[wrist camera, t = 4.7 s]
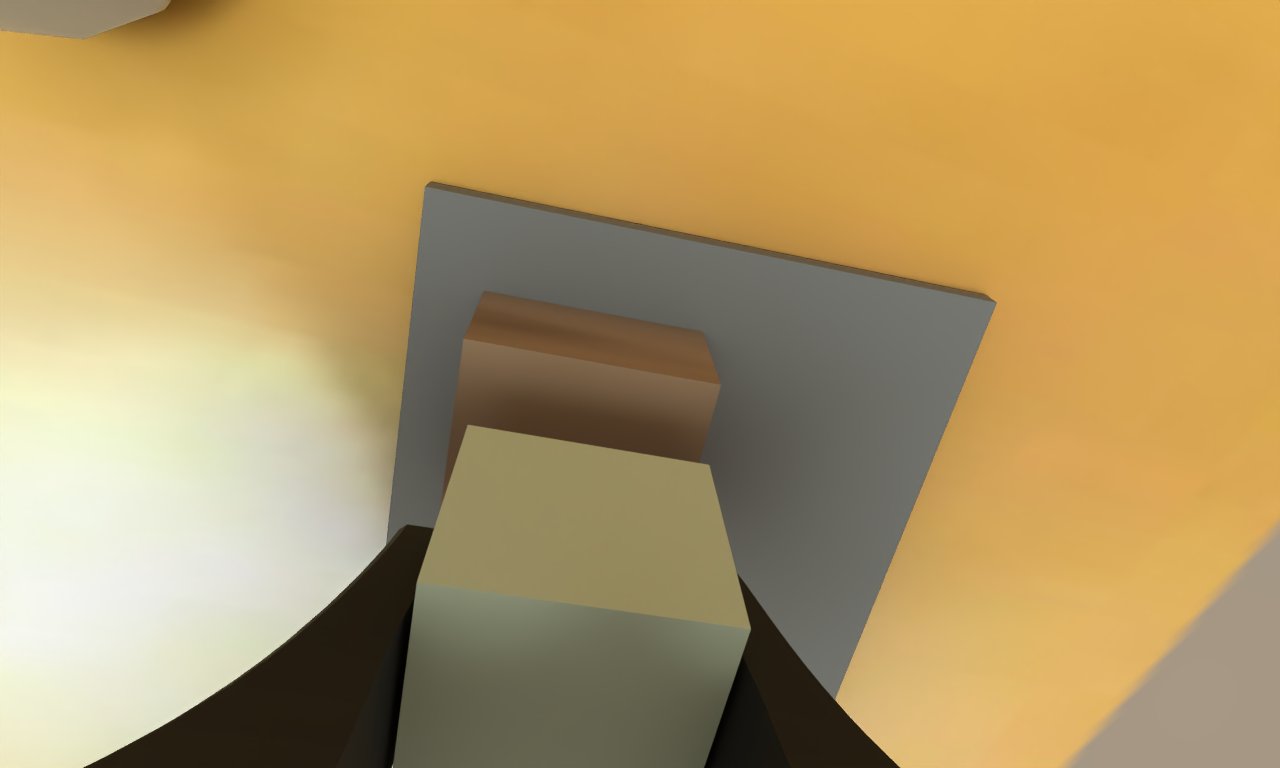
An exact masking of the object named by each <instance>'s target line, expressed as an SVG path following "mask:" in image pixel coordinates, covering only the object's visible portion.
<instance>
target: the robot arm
mask: <svg viewBox="0 0 1280 768" xmlns="http://www.w3.org/2000/svg"><path fill="white" fill-rule="evenodd" d="M433 531H434V528H429V527H422V526H416V525H409V524H407V525H405V526H404V527H402V528H400V529H399V530H398V531H397V533H396V534H395V535H394V537H393V538H392V539H391V540H390V541H389V543H388V544H387V545H386V546H385V547H384V549H383V550H382V551H381V552H380V553H379V554H378V555H377V556H376V558H375V559H374V560H373V561H372V562H371V563H370V564H369V565H368V566H367V567H366V568H365V569H364V570H363V572H362V573H361V574H360V575H359V576H358V577H357V578H356V579H355V580H354V581H353V582H352V583H351V584H349V585H348V586H347V587H346V588H345V589H344V590H343V591H342V592H341V593H340V594H339V595H338V596H337V597H336V598H335V599H334V600H333V601H332V602H331V603H330V604H329V605H328V606H327V607H326V608H325V609H323V610H322V611H321V612H320V613H319V614H318V615H317V616H315V617H314V618H313V619H312V620H311V621H310V622H308V623H307V624H306V625H305V626H304V627H303V628H301V629H300V630H299V631H298V632H297V633H296V634H295V635H293V636H292V637H291V638H290V639H289V640H287V641H286V642H285V643H284V644H282V645H281V646H280V647H279V648H277V649H276V650H275V651H274V652H272V653H271V654H270V655H268V656H267V657H266V658H264V659H263V660H262V661H261V662H259V663H258V664H256V665H255V666H254V667H252V668H251V669H250V670H248V671H247V672H245V673H244V674H243V675H241V676H240V677H238V678H237V679H236V680H234V681H233V682H231V683H230V684H228V685H227V686H225V687H224V688H222V689H221V690H219V691H218V692H216V693H215V694H213V695H211V696H210V697H208V698H207V699H205V700H204V701H202V702H201V703H199V704H198V705H196V706H195V707H193V708H192V709H190V710H188V711H187V712H185V713H183V714H182V715H180V716H178V717H177V718H175V719H174V720H172V721H170V722H168V723H167V724H165V725H163V726H162V727H160V728H158V729H156V730H154V731H152V732H151V733H149V734H147V735H145V736H143V737H141V738H139V739H138V740H136V741H134V742H132V743H130V744H128V745H127V746H125V747H123V748H121V749H119V750H117V751H115V752H114V753H112V754H110V755H108V756H106V757H104V758H102V759H100V760H98V761H96V762H94V763H92V764H90V765H88V766H86V767H84V768H392V765H393V763H394V755H395V747H396V739H397V732H398V724H399V716H400V708H401V701H402V693H403V685H404V678H405V670H406V662H407V654H408V647H409V639H410V631H411V623H412V616H413V608H414V600H415V592H416V585H417V580H418V577H419V574H420V571H421V568H422V565H423V562H424V558H425V555H426V552H427V549H428V546H429V543H430V540H431V537H432V534H433ZM737 576H738V580H739V584H740V588H741V592H742V596H743V600H744V604H745V607H746V611H747V615H748V619H749V623H750V627H751V631H750V633H749V636H748V639H747V642H746V645H745V648H744V651H743V654H742V657H741V660H740V663H739V666H738V669H737V672H736V675H735V678H734V681H733V684H732V687H731V690H730V693H729V695H728V698H727V701H726V704H725V707H724V710H723V713H722V716H721V719H720V722H719V725H718V728H717V731H716V734H715V737H714V740H713V743H712V746H711V749H710V752H709V755H708V757H707V760H706V763H705V766H704V768H900V767H899V766H898V765H897V764H896V763H895V762H894V761H893V760H892V759H890V758H889V757H888V756H887V755H886V754H885V753H884V752H883V751H882V750H881V749H880V748H879V747H878V746H877V745H876V744H875V743H874V742H873V741H872V740H871V739H870V738H869V737H868V736H867V735H866V734H865V733H864V732H863V731H862V730H861V729H860V727H859V726H858V725H857V724H856V723H855V722H854V721H853V720H852V719H851V718H850V717H849V716H848V715H847V714H846V712H845V711H844V710H843V709H842V708H841V707H840V705H839V704H838V703H837V702H836V701H835V700H834V699H833V697H832V696H831V695H830V694H829V693H828V692H827V691H826V689H825V688H824V687H823V686H822V685H821V684H820V682H819V681H818V680H817V679H816V677H815V676H814V675H813V674H812V673H811V671H810V670H809V669H808V668H807V666H806V665H805V664H804V663H803V661H802V660H801V659H800V657H799V656H798V655H797V654H796V652H795V651H794V650H793V648H792V647H791V646H790V644H789V643H788V642H787V640H786V639H785V638H784V636H783V635H782V634H781V632H780V631H779V630H778V628H777V627H776V626H775V624H774V623H773V621H772V620H771V619H770V617H769V616H768V615H767V613H766V612H765V610H764V609H763V608H762V606H761V605H760V603H759V602H758V601H757V599H756V598H755V596H754V595H753V594H752V592H751V591H750V589H749V588H748V587H747V585H746V584H745V582H744V581H743V580H742V578H741V577H740V576H739V574H738V573H737Z"/></svg>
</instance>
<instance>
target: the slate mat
mask: <svg viewBox="0 0 1280 768" xmlns="http://www.w3.org/2000/svg"><path fill="white" fill-rule="evenodd" d="M483 291H489V292H495V293H500V294H505V295H511V296H516V297H521V298H527V299H532V300H537V301H543V302H548V303H553V304H559V305H564V306H569V307H575V308H580V309H585V310H591V311H596V312H601V313H606V314H612V315H617V316H622V317H628V318H633V319H638V320H644V321H649V322H654V323H660V324H665V325H670V326H676V327H681V328H686V329H692V330H697V331H702V332H703V334H704V337H705V340H706V343H707V346H708V349H709V351H710V354H711V357H712V360H713V363H714V366H715V369H716V372H717V375H718V377H719V380H720V383H721V387H720V391H719V394H718V398H717V401H716V405H715V409H714V412H713V416H712V419H711V423H710V427H709V430H708V434H707V437H706V441H705V444H704V448H703V452H702V455H701V459H700V462H699V463H701V464H707V465H709V466H710V470H711V474H712V478H713V482H714V486H715V490H716V493H717V497H718V501H719V505H720V509H721V513H722V517H723V521H724V525H725V529H726V533H727V537H728V541H729V545H730V549H731V552H732V556H733V560H734V564H735V568H736V572H737V573H738V574H739V576H740V577H741V578H742V580H743V581H744V582H745V584H746V585H747V587H748V588H749V589H750V591H751V592H752V594H753V595H754V596H755V598H756V599H757V601H758V602H759V603H760V605H761V606H762V608H763V609H764V610H765V612H766V613H767V615H768V616H769V617H770V619H771V620H772V621H773V623H774V624H775V626H776V627H777V628H778V630H779V631H780V632H781V634H782V635H783V636H784V638H785V639H786V640H787V642H788V643H789V644H790V646H791V647H792V648H793V650H794V651H795V652H796V654H797V655H798V656H799V657H800V659H801V660H802V661H803V663H804V664H805V665H806V666H807V668H808V669H809V670H810V671H811V673H812V674H813V675H814V676H815V677H816V679H817V680H818V681H819V682H820V684H821V685H822V686H823V687H824V688H825V689H826V691H827V692H828V693H829V694H830V695H831V696H832V697H833V699H834V700H835V698H836V695H837V693H838V691H839V688H840V686H841V683H842V681H843V678H844V676H845V673H846V671H847V668H848V666H849V664H850V661H851V659H852V656H853V654H854V651H855V649H856V646H857V644H858V642H859V639H860V637H861V634H862V632H863V629H864V627H865V624H866V622H867V619H868V617H869V615H870V612H871V610H872V607H873V605H874V602H875V600H876V597H877V595H878V593H879V590H880V588H881V585H882V583H883V580H884V578H885V575H886V573H887V570H888V568H889V566H890V563H891V561H892V558H893V556H894V553H895V551H896V548H897V546H898V544H899V541H900V539H901V536H902V534H903V531H904V529H905V526H906V524H907V521H908V519H909V517H910V514H911V512H912V509H913V507H914V504H915V502H916V499H917V497H918V495H919V492H920V490H921V487H922V485H923V482H924V480H925V477H926V475H927V472H928V470H929V468H930V465H931V463H932V460H933V458H934V455H935V453H936V450H937V448H938V446H939V443H940V441H941V438H942V436H943V433H944V431H945V428H946V426H947V423H948V421H949V419H950V416H951V414H952V411H953V409H954V406H955V404H956V401H957V399H958V397H959V394H960V392H961V389H962V387H963V384H964V382H965V379H966V377H967V374H968V372H969V370H970V367H971V365H972V362H973V360H974V357H975V355H976V352H977V350H978V348H979V345H980V343H981V340H982V338H983V335H984V333H985V330H986V328H987V325H988V323H989V321H990V318H991V316H992V313H993V311H994V308H995V306H996V303H997V302H995V301H994V300H992V299H991V298H989V297H988V296H987V295H984V294H980V293H975V292H970V291H965V290H960V289H955V288H950V287H945V286H940V285H935V284H930V283H926V282H921V281H916V280H911V279H906V278H901V277H896V276H891V275H886V274H881V273H876V272H872V271H867V270H862V269H857V268H852V267H847V266H842V265H837V264H832V263H827V262H822V261H818V260H813V259H808V258H803V257H798V256H793V255H788V254H783V253H778V252H773V251H768V250H764V249H759V248H754V247H749V246H744V245H739V244H734V243H729V242H724V241H719V240H714V239H710V238H705V237H700V236H695V235H690V234H685V233H680V232H675V231H670V230H665V229H660V228H656V227H651V226H646V225H641V224H636V223H631V222H626V221H621V220H616V219H611V218H606V217H602V216H597V215H592V214H587V213H582V212H577V211H572V210H567V209H562V208H557V207H552V206H548V205H543V204H538V203H533V202H528V201H523V200H518V199H513V198H508V197H503V196H498V195H494V194H489V193H484V192H479V191H474V190H469V189H464V188H459V187H454V186H449V185H444V184H440V183H435V182H430V183H428V184H427V185H426V186H425V192H424V201H423V210H422V219H421V228H420V238H419V247H418V256H417V265H416V275H415V284H414V293H413V302H412V311H411V321H410V330H409V339H408V348H407V358H406V367H405V376H404V385H403V394H402V404H401V413H400V422H399V431H398V441H397V450H396V459H395V468H394V477H393V487H392V496H391V505H390V514H389V524H388V533H387V542H386V545H387V544H388V543H389V541H390V540H391V539H392V538H393V537H394V535H395V534H396V533H397V531H398V530H399V529H400V528H402V527H404V526H405V525H407V524H409V525H416V526H422V527H429V528H435V524H436V521H437V518H438V515H439V512H440V507H441V500H442V492H443V485H444V478H445V471H446V463H447V456H448V449H449V441H450V434H451V427H452V420H453V412H454V405H455V398H456V390H457V383H458V376H459V368H460V361H461V354H462V347H463V339H464V337H465V334H466V332H467V329H468V327H469V325H470V322H471V320H472V318H473V315H474V313H475V310H476V308H477V306H478V303H479V301H480V299H481V296H482V294H483Z"/></svg>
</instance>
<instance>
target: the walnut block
mask: <svg viewBox="0 0 1280 768" xmlns="http://www.w3.org/2000/svg"><path fill="white" fill-rule="evenodd" d="M720 387H721V383H720V380H719V377H718V375H717V372H716V369H715V366H714V363H713V360H712V357H711V354H710V351H709V349H708V346H707V343H706V340H705V337H704V334H703V332H702V331H697V330H692V329H686V328H681V327H676V326H670V325H665V324H660V323H654V322H649V321H644V320H638V319H633V318H628V317H622V316H617V315H612V314H606V313H601V312H596V311H591V310H585V309H580V308H575V307H569V306H564V305H559V304H553V303H548V302H543V301H537V300H532V299H527V298H521V297H516V296H511V295H505V294H500V293H495V292H489V291H483V294H482V296H481V299H480V301H479V303H478V306H477V308H476V310H475V313H474V315H473V318H472V320H471V322H470V325H469V327H468V329H467V332H466V334H465V337H464V339H463V347H462V354H461V361H460V368H459V376H458V383H457V390H456V398H455V405H454V412H453V420H452V427H451V434H450V441H449V449H448V456H447V463H446V471H445V478H444V485H443V492H442V500H441V506H442V503H443V500H444V497H445V494H446V490H447V487H448V484H449V481H450V478H451V475H452V472H453V469H454V466H455V463H456V460H457V457H458V453H459V450H460V447H461V444H462V441H463V438H464V435H465V432H466V429H467V426H468V425H473V426H479V427H485V428H491V429H497V430H503V431H509V432H515V433H521V434H527V435H533V436H539V437H545V438H551V439H557V440H563V441H569V442H575V443H581V444H587V445H593V446H599V447H605V448H611V449H617V450H623V451H629V452H635V453H641V454H647V455H653V456H659V457H665V458H671V459H677V460H683V461H689V462H695V463H699V462H700V459H701V455H702V452H703V448H704V444H705V441H706V437H707V434H708V430H709V427H710V423H711V419H712V416H713V412H714V409H715V405H716V401H717V398H718V394H719V391H720ZM440 509H441V507H440Z"/></svg>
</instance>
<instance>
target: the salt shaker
mask: <svg viewBox="0 0 1280 768" xmlns="http://www.w3.org/2000/svg"><path fill="white" fill-rule="evenodd" d="M170 2H171V0H0V30H2V31H10V32H20V33H29V34H38V35H47V36H57V37H66V38H75V39H86V38H89V37H92V36H95V35H97V34H100V33H103V32H106V31H108V30H111V29H114V28H117V27H119V26H122V25H125V24H128V23H130V22H133V21H136V20H139V19H141V18H144V17H147V16H150V15H152V14H155V13H158V12H160V11H163V10H165V9H166V7H167V6H168V4H169V3H170Z"/></svg>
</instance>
